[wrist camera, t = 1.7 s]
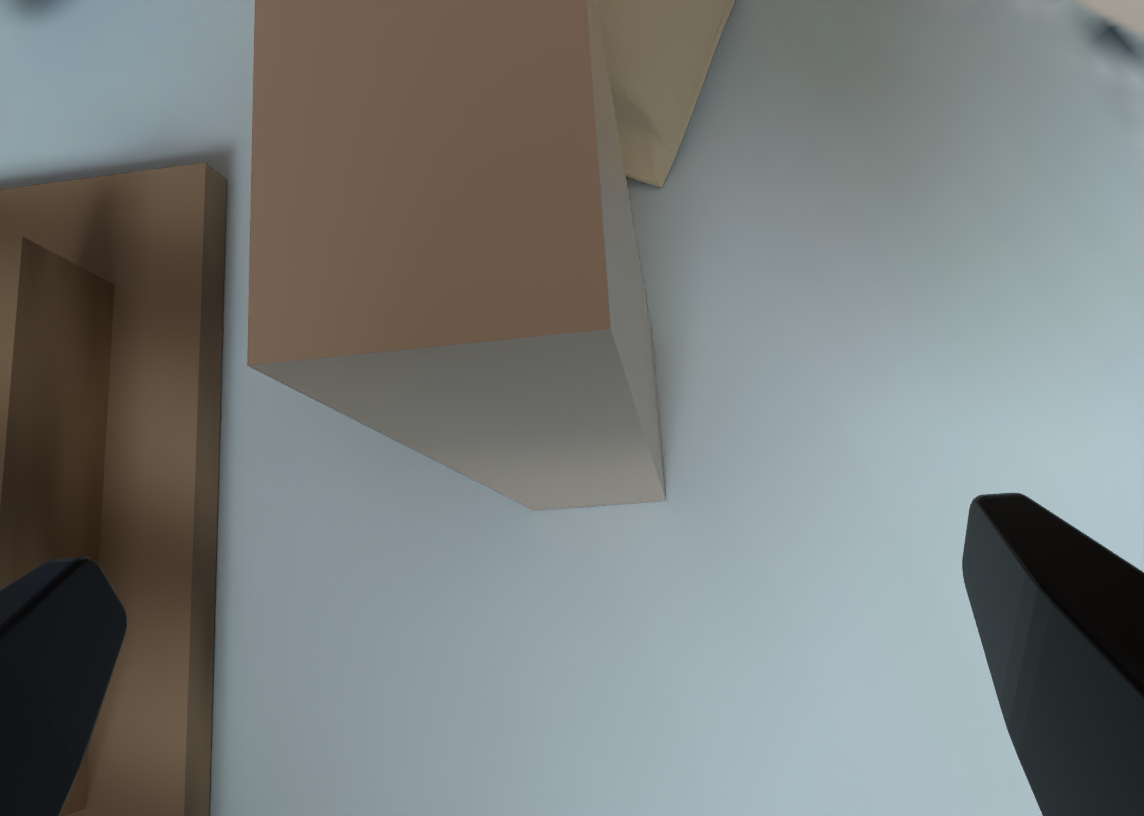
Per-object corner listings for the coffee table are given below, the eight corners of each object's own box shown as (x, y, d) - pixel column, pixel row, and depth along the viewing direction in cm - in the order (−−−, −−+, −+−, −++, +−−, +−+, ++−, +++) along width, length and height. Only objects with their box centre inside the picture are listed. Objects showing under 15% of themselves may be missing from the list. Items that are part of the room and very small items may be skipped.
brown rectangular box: (651, 330, 20) (578, -106, 8) (665, 500, 19) (610, 328, 7) (525, 342, 21) (256, -53, 8) (534, 511, 20) (247, 365, 7)
